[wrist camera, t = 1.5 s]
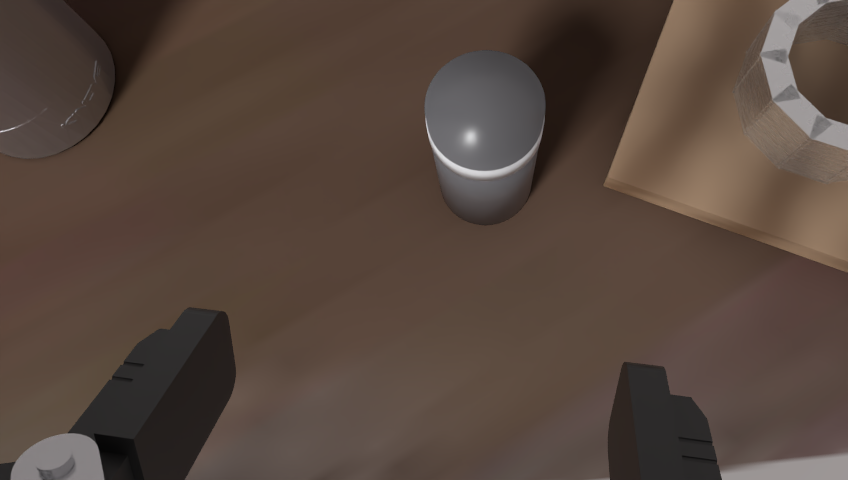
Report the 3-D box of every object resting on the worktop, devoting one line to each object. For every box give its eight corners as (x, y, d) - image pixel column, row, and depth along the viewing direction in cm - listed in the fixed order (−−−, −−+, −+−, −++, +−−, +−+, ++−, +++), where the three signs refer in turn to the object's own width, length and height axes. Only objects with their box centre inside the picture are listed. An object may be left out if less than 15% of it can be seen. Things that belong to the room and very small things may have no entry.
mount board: (602, 185, 39) (607, 176, 37) (695, -60, 42) (702, -77, 40) (951, 309, 36) (970, 304, 34) (1024, 35, 39) (1045, 20, 37)
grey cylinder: (425, 206, 39) (404, 138, 30) (459, 125, 40) (450, 34, 31) (512, 239, 38) (520, 180, 29) (545, 155, 39) (564, 71, 30)
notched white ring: (712, 147, 37) (738, 115, 33) (764, -1, 39) (794, -48, 35) (893, 207, 36) (942, 182, 32) (939, 50, 37) (990, 8, 33)
